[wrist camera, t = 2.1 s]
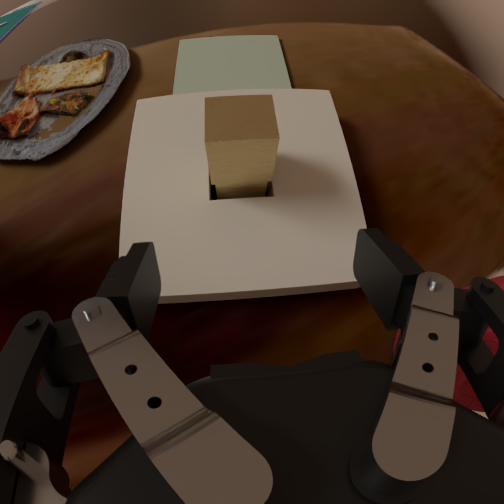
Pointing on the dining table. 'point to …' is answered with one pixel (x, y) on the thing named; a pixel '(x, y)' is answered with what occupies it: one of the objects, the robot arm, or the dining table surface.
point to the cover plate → (242, 203)
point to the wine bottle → (462, 386)
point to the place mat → (14, 20)
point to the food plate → (58, 95)
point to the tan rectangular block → (241, 144)
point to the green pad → (230, 64)
